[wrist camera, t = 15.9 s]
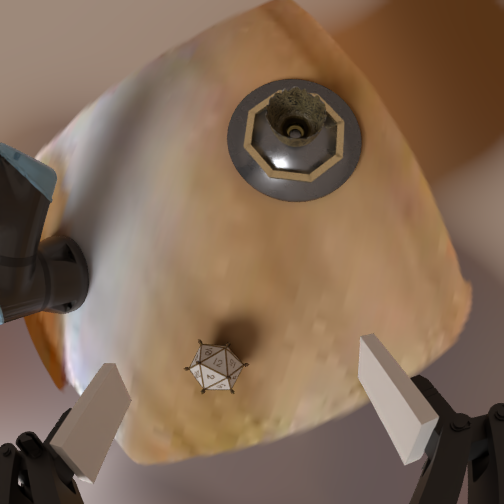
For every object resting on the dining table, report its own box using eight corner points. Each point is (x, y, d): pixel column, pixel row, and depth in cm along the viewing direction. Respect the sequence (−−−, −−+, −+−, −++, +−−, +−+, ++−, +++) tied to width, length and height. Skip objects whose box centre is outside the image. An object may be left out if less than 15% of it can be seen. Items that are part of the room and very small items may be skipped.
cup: (330, 131, 38) (338, 108, 30) (300, 167, 38) (303, 150, 30) (290, 104, 38) (289, 76, 30) (259, 138, 39) (252, 115, 31)
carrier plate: (220, 194, 41) (217, 192, 39) (238, 79, 40) (236, 73, 38) (355, 210, 39) (358, 209, 37) (359, 92, 38) (362, 86, 36)
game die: (227, 359, 46) (202, 406, 39) (194, 328, 44) (164, 376, 36) (266, 355, 41) (242, 411, 34) (232, 320, 38) (200, 378, 31)
